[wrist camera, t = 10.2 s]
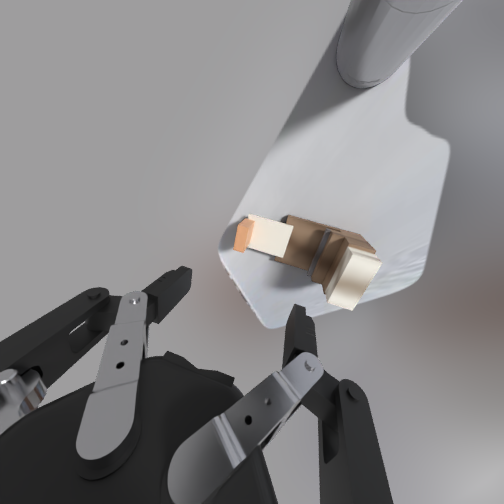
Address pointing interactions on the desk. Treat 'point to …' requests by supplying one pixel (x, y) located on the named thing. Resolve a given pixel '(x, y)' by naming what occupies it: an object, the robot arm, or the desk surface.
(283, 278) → the desk surface
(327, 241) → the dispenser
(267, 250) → the plank with orange cube
